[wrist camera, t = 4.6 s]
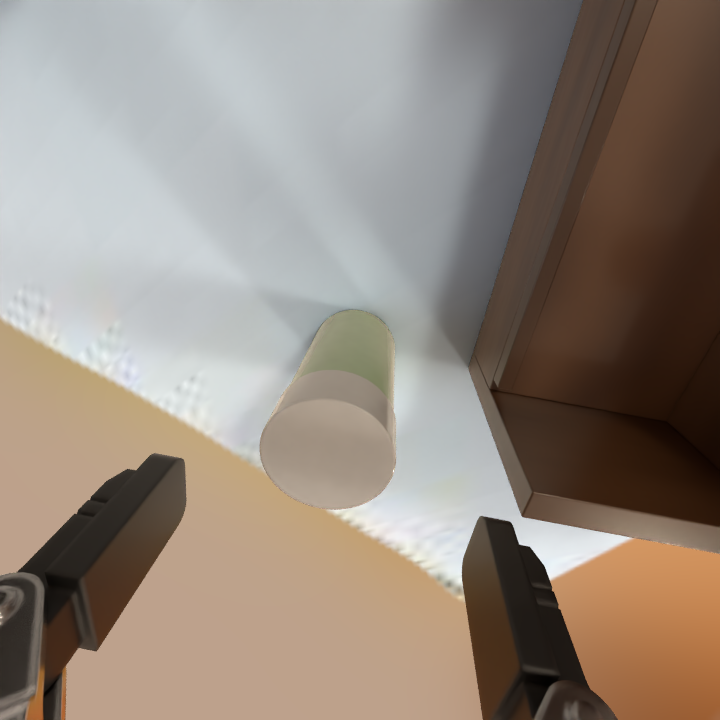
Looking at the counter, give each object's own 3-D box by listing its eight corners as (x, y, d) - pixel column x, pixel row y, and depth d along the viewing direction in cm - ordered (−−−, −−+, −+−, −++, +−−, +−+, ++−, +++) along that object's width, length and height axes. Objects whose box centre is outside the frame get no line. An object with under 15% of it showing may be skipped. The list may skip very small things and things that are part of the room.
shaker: (308, 377, 22) (255, 497, 14) (317, 300, 20) (262, 386, 12) (387, 391, 22) (381, 520, 14) (404, 316, 20) (409, 413, 12)
